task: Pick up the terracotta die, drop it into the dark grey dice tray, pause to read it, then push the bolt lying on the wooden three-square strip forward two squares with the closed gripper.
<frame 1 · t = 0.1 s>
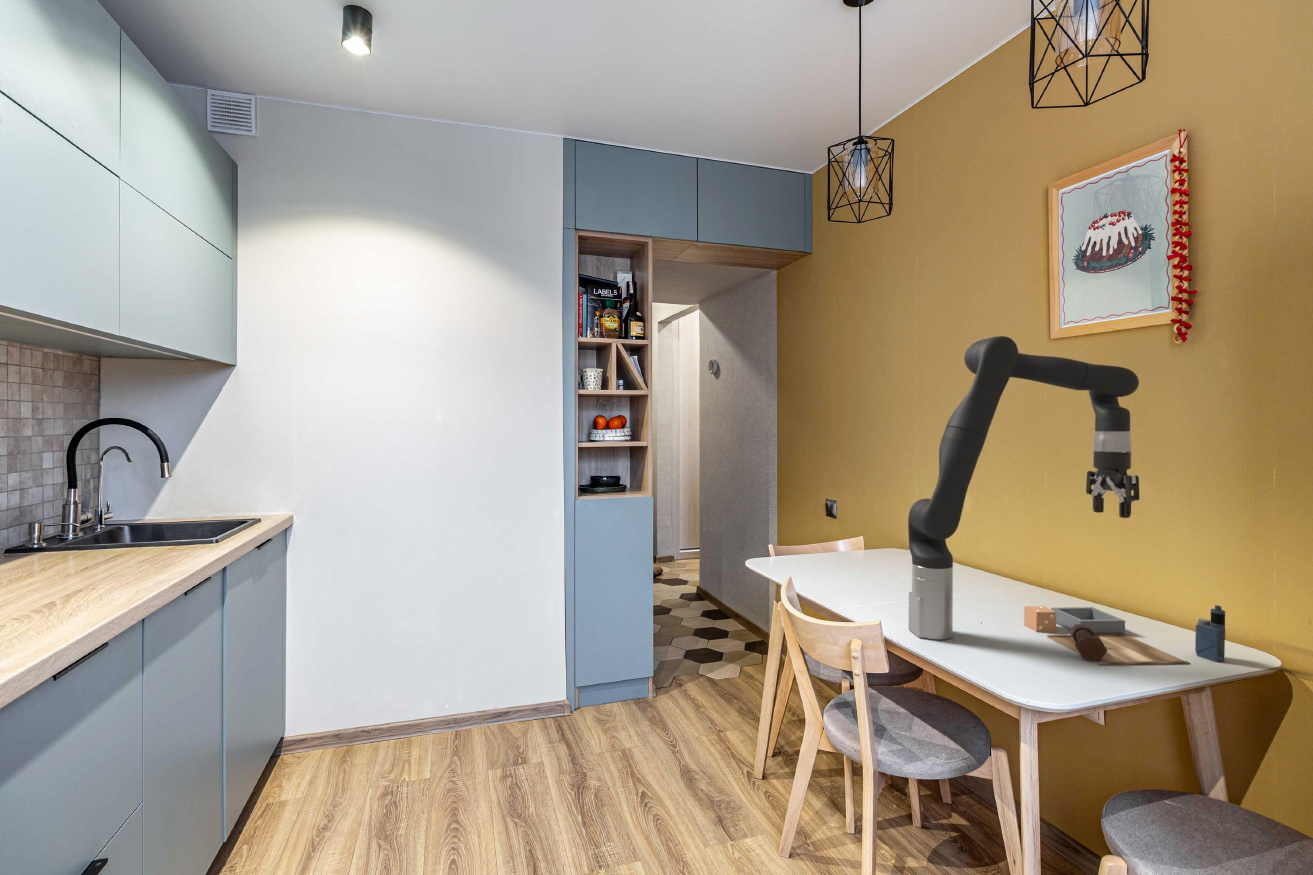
hand: (1111, 514, 153), 29 cm above the table, tool pointing down, fingers open, 8 cm apart
die: (1040, 618, 156), point 2 cm above the table
tray: (1086, 627, 157), on the table
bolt: (1086, 649, 142), resting on board
vaping device: (1209, 659, 136), on the table
board: (1113, 649, 142), on the table
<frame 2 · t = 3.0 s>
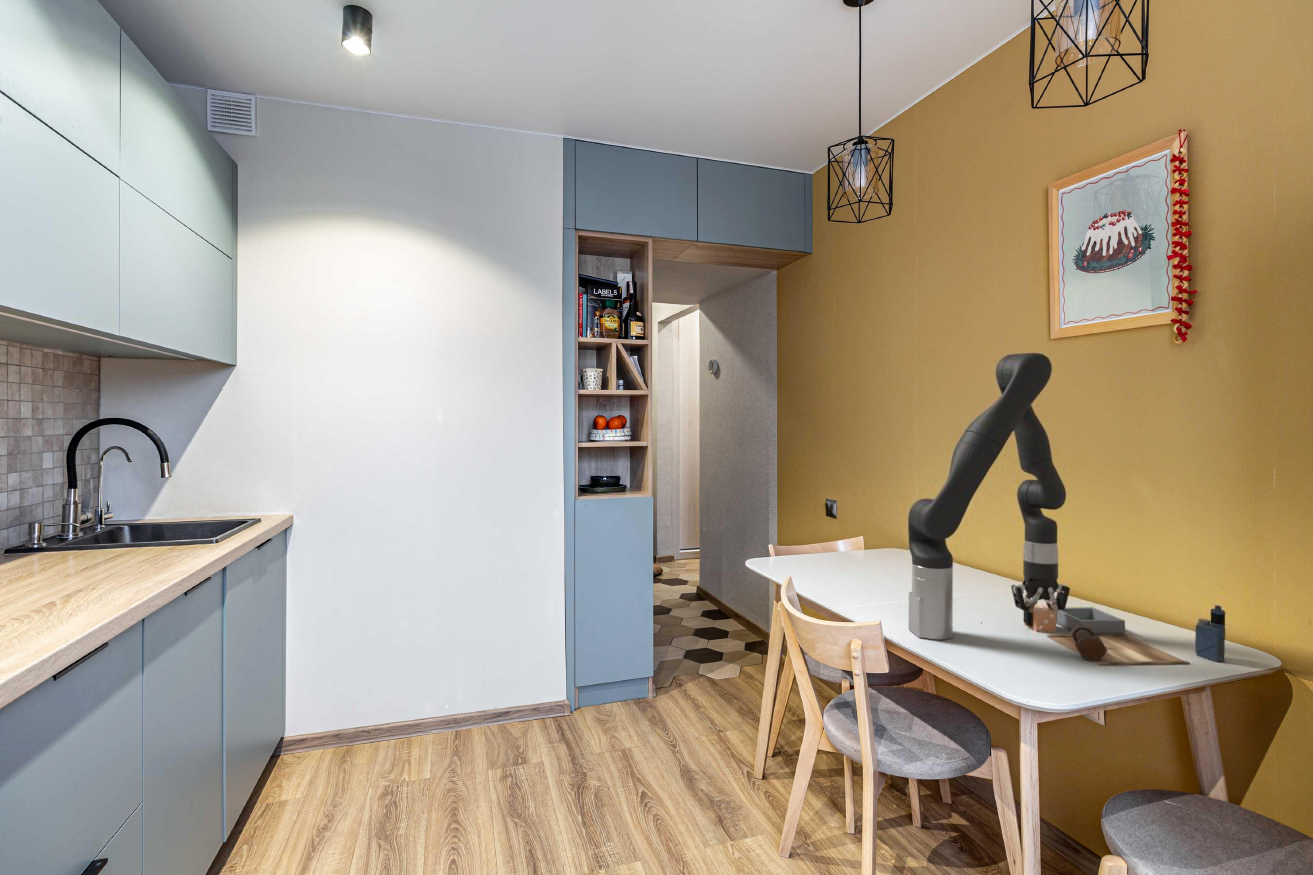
hand: (1040, 625, 156), 1 cm above the table, tool pointing down, fingers closed on die, 5 cm apart
die: (1040, 618, 156), point 2 cm above the table, touching gripper
everything else where it was.
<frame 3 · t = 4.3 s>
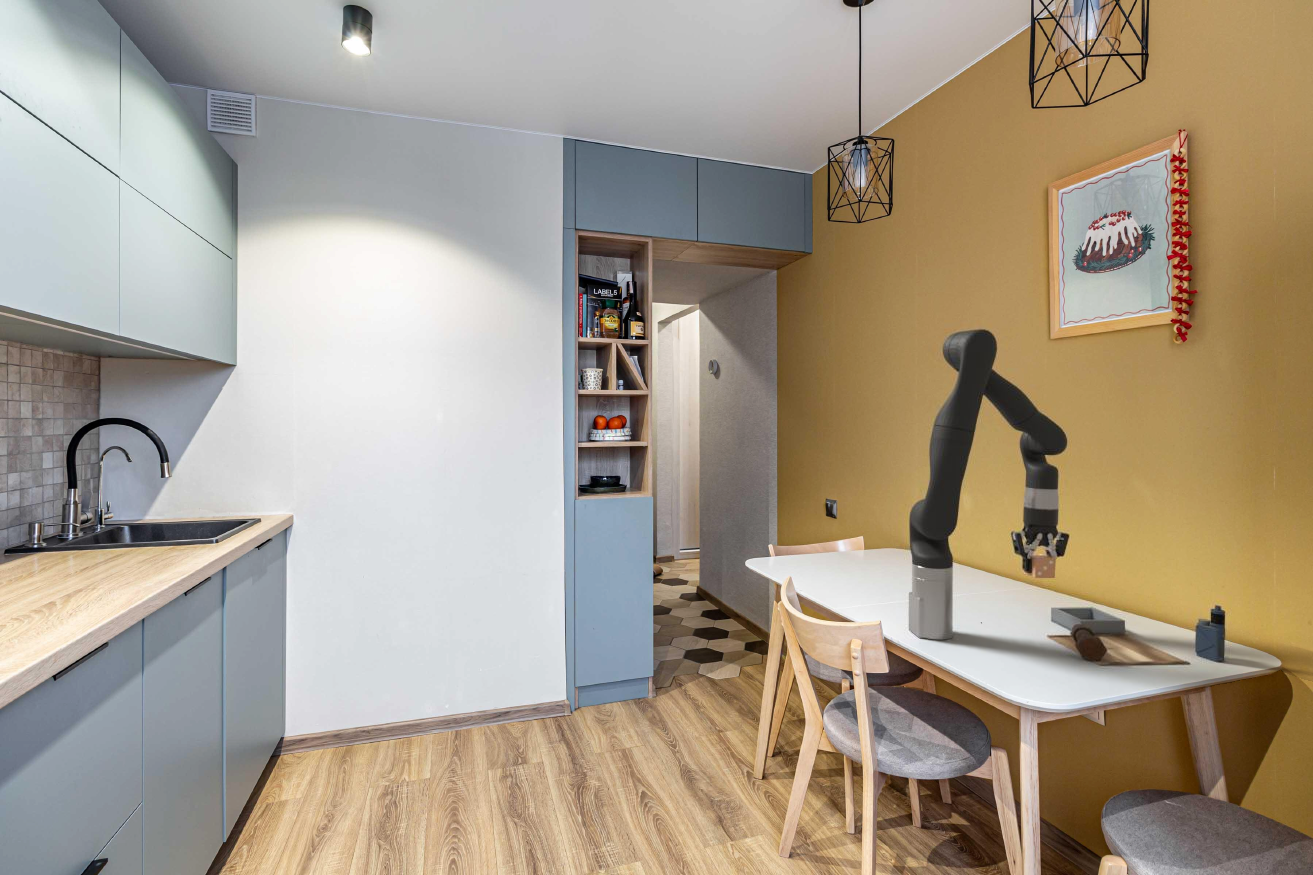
hand: (1038, 572, 156), 14 cm above the table, tool pointing down, fingers closed on die, 5 cm apart
die: (1038, 565, 156), point 16 cm above the table, touching gripper
everything else where it was.
when the fingers open (12 cm above the table, at t = 5.6 s): die drops 11 cm, resting on tray.
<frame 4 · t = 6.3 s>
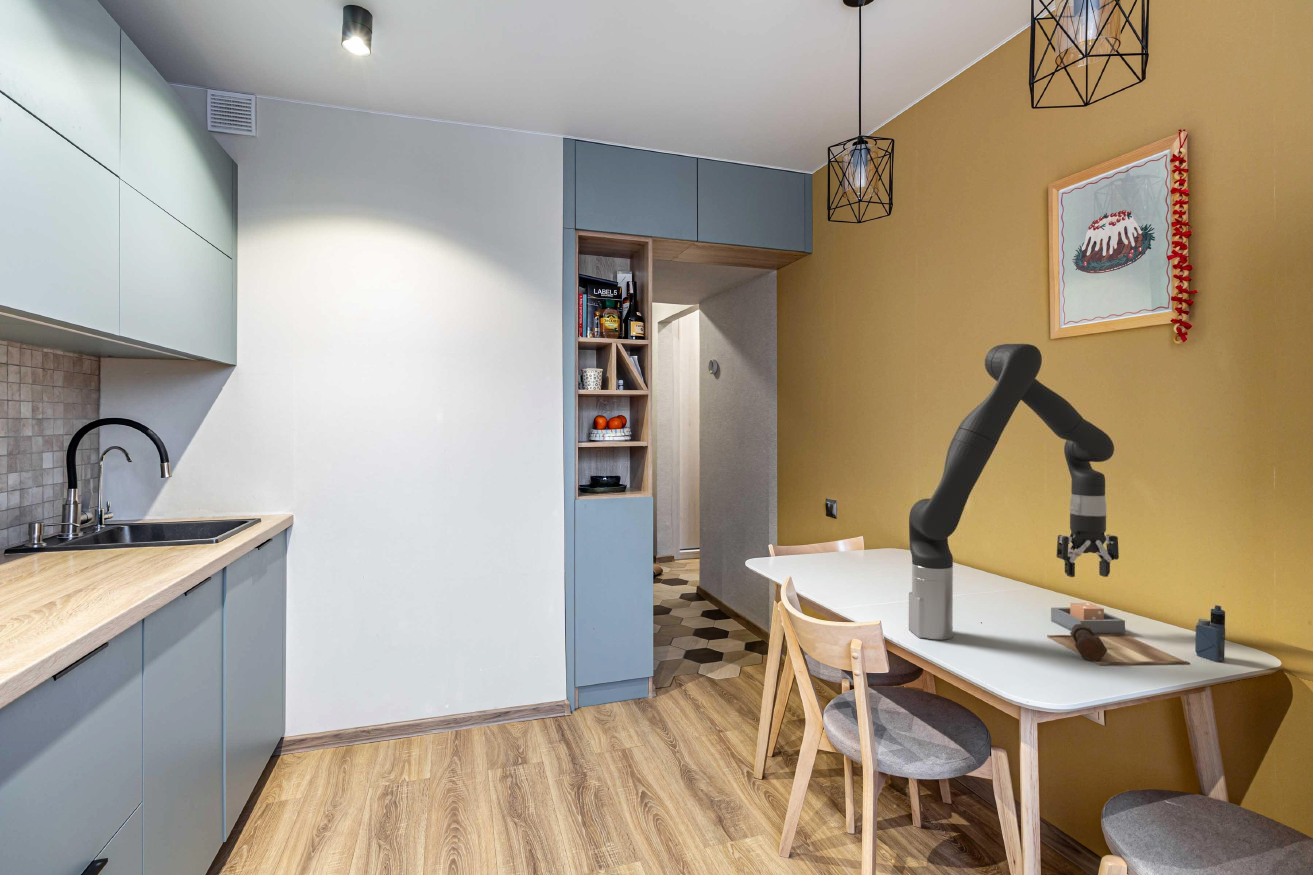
hand: (1087, 576, 156), 13 cm above the table, tool pointing down, fingers open, 8 cm apart
die: (1086, 615, 157), point 3 cm above the table, touching tray
everything else where it was.
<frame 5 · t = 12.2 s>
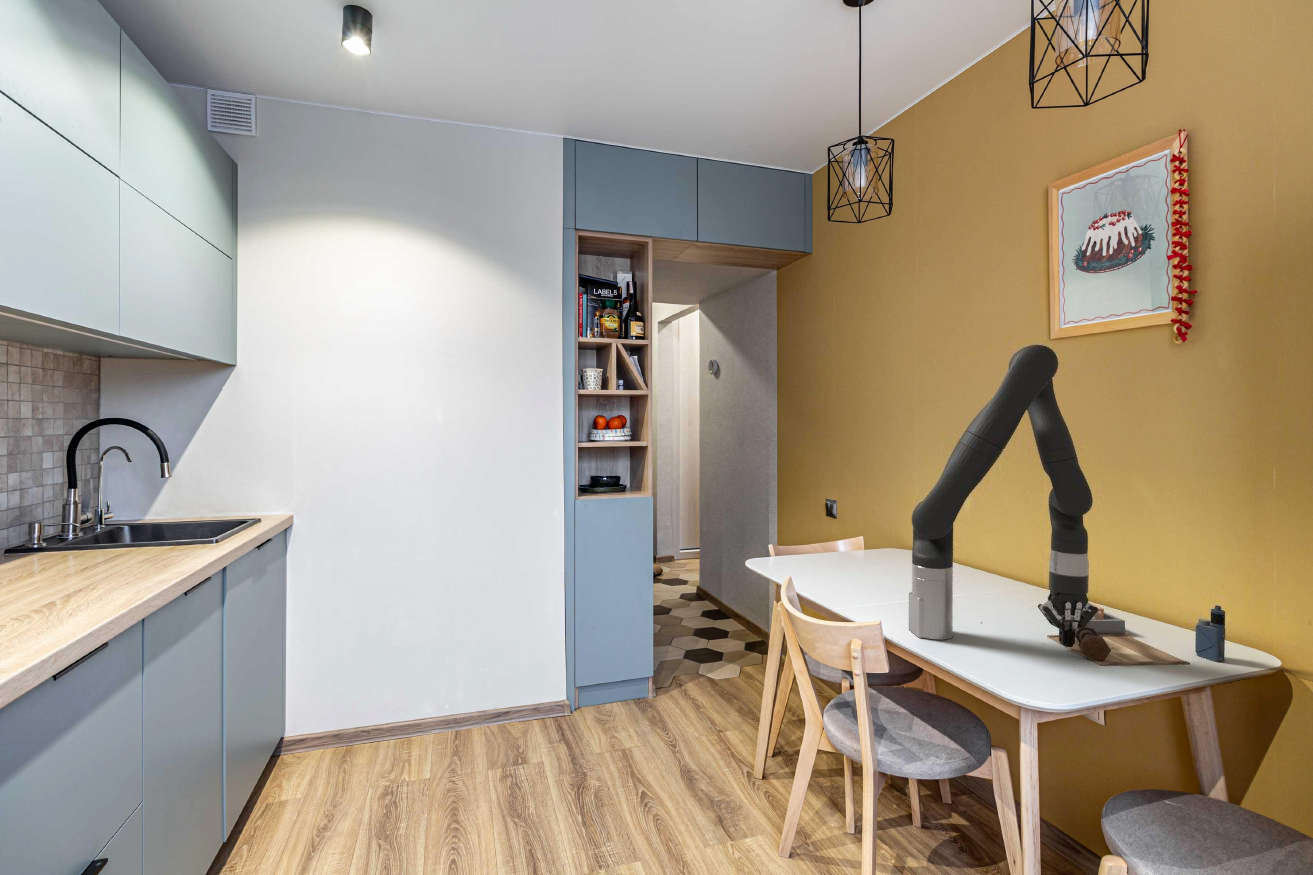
hand: (1066, 645, 141), 1 cm above the table, tool pointing down, fingers closed
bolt: (1089, 650, 141), resting on board, touching gripper
everything else where it was.
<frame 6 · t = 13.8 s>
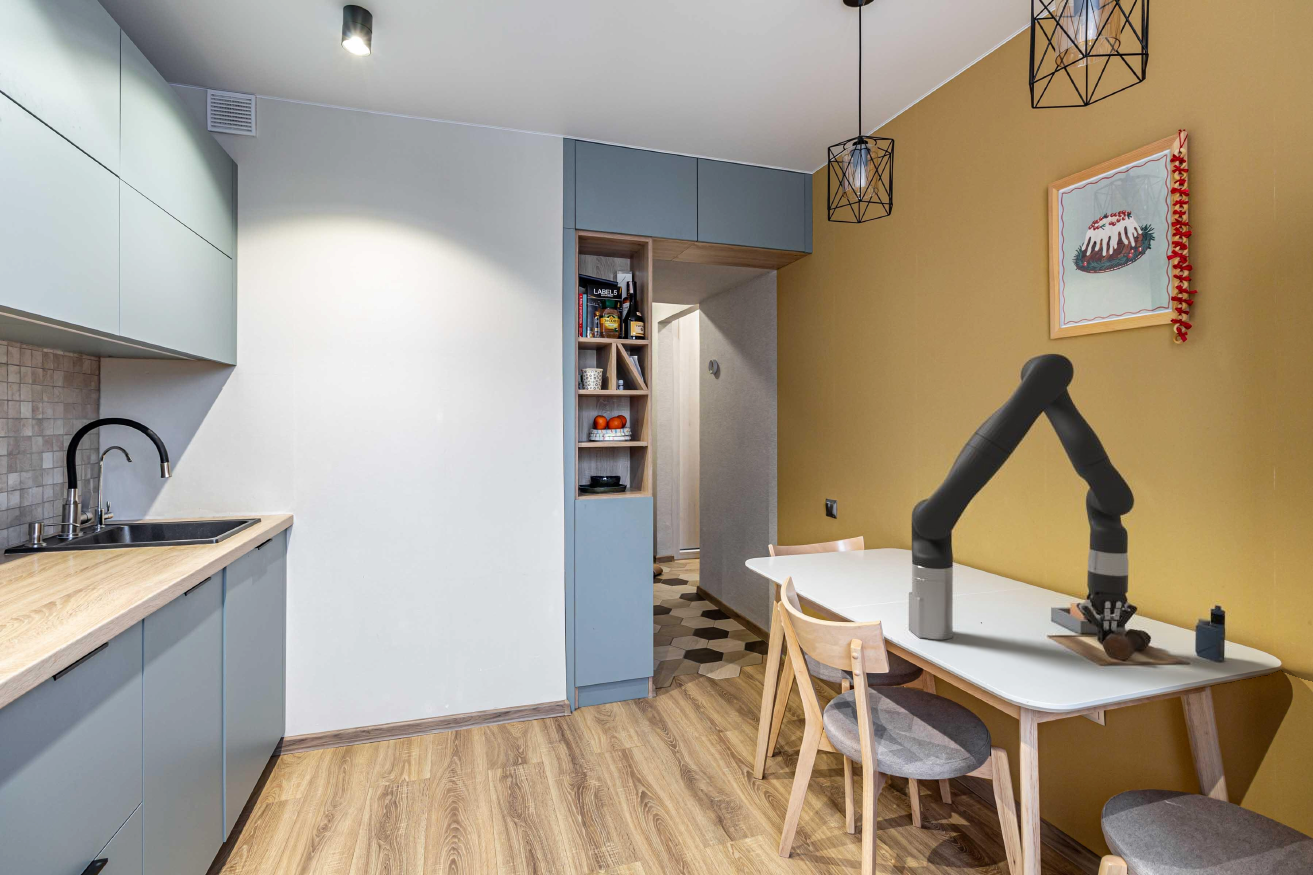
hand: (1105, 644, 142), 1 cm above the table, tool pointing down, fingers closed
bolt: (1130, 653, 139), resting on board, touching gripper
everything else where it was.
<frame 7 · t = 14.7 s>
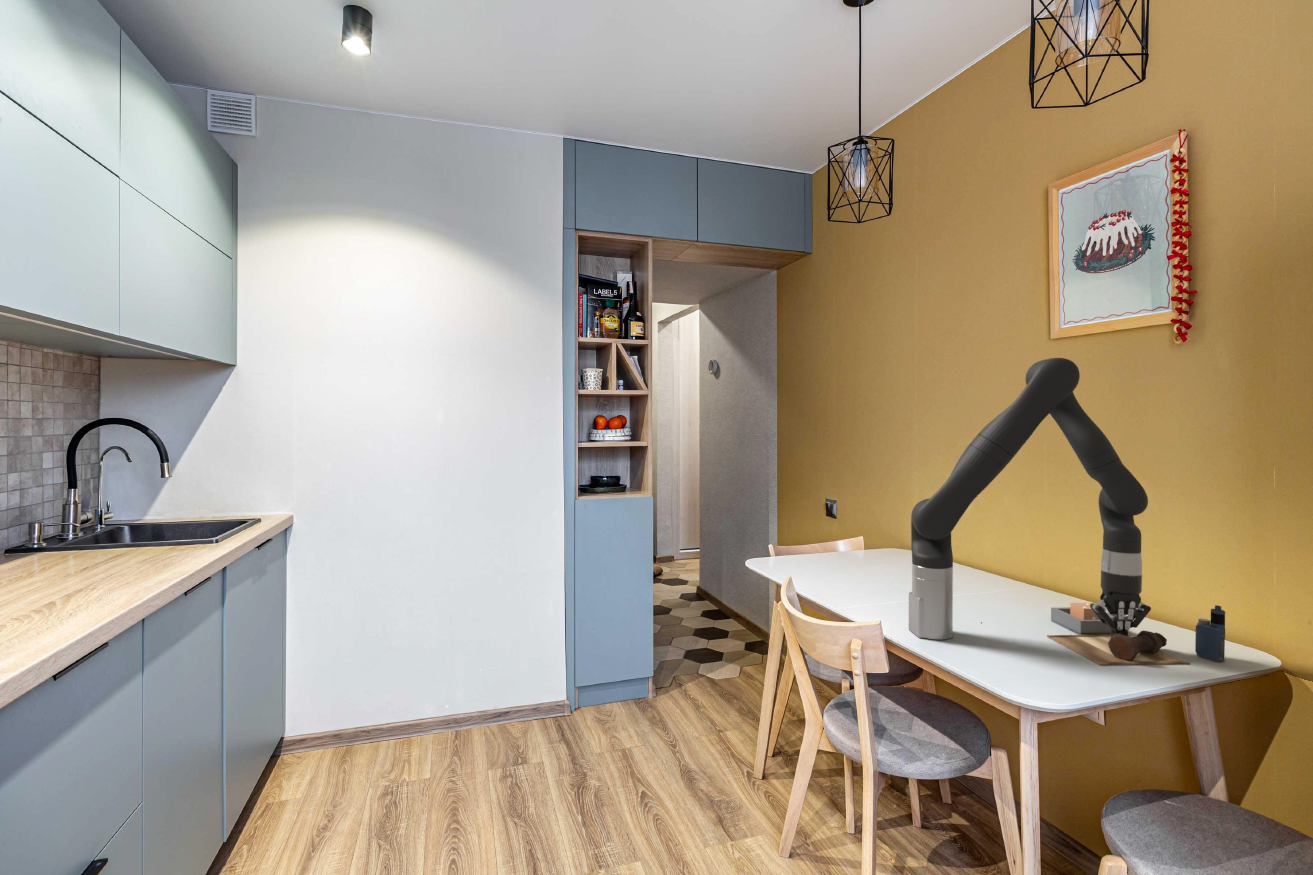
hand: (1119, 644, 142), 1 cm above the table, tool pointing down, fingers closed
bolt: (1141, 654, 138), resting on board, touching gripper
everything else where it was.
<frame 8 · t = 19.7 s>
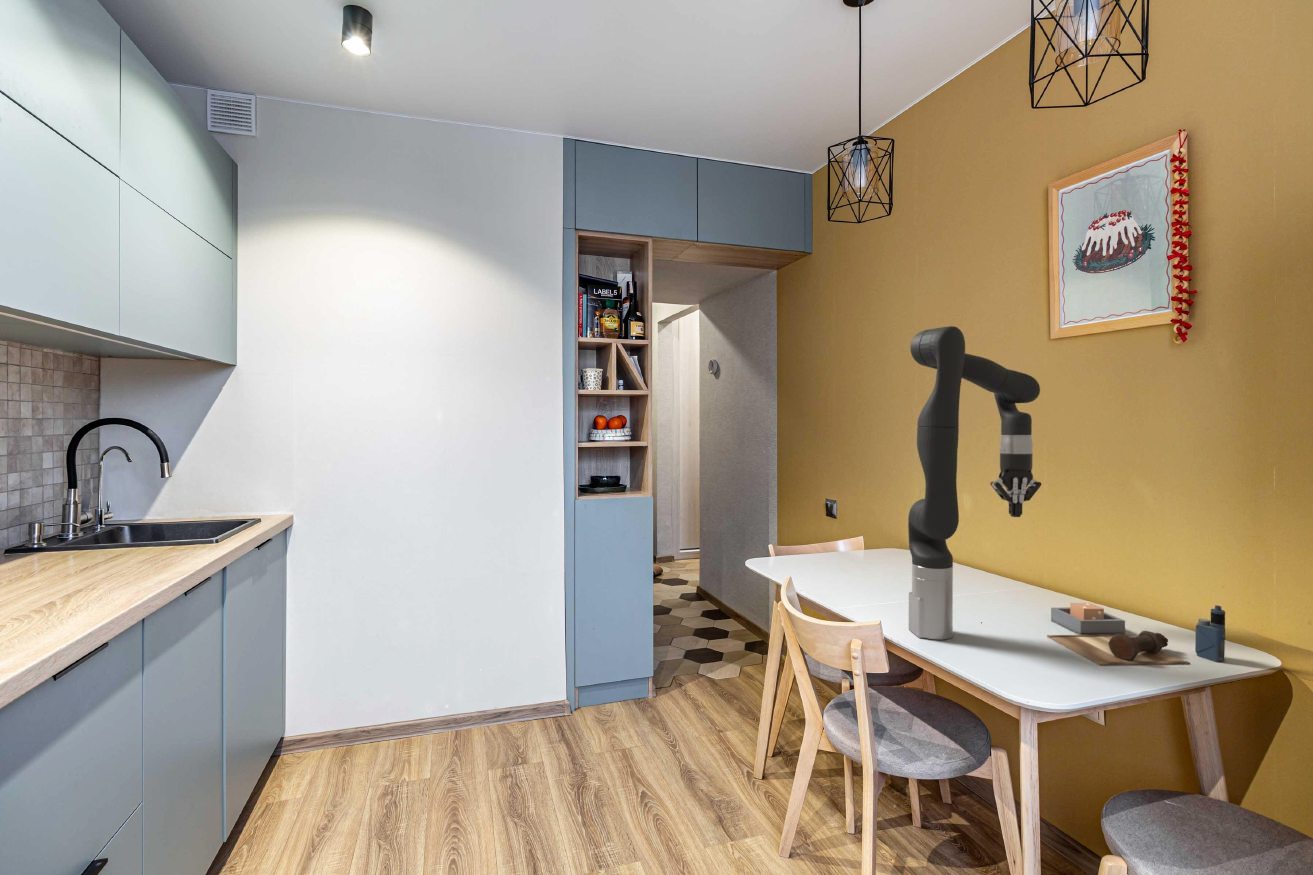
hand: (1015, 516, 165), 27 cm above the table, tool pointing down, fingers closed
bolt: (1142, 654, 138), resting on board
everything else where it was.
at the end: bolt inside the target area (4.8 cm from its centre), resting on board; die inside the target area on the tray (0.0 cm from its centre), point 3.1 cm above the tray's base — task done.
